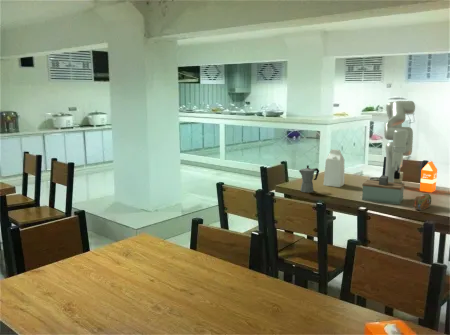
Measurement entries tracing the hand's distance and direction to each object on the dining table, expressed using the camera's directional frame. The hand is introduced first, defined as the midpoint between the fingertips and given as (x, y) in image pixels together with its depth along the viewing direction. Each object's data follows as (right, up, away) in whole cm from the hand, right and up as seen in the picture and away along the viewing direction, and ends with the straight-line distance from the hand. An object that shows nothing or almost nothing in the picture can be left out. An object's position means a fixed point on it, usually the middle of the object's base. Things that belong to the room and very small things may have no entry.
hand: (396, 178), depth 262 cm
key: (+3, -2, +6) cm, 7 cm away
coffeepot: (-50, -9, +26) cm, 57 cm away
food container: (-5, -10, +20) cm, 23 cm away
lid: (-8, -4, +1) cm, 9 cm away
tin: (+7, -17, -18) cm, 26 cm away
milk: (-28, -6, +44) cm, 53 cm away
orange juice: (+31, -9, +25) cm, 41 cm away
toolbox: (-7, -13, +4) cm, 15 cm away
